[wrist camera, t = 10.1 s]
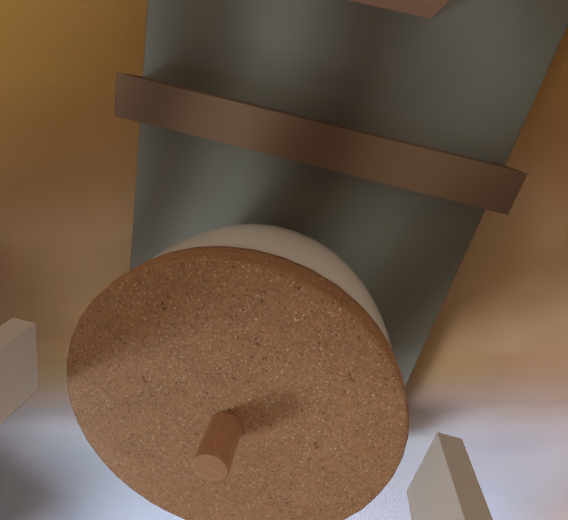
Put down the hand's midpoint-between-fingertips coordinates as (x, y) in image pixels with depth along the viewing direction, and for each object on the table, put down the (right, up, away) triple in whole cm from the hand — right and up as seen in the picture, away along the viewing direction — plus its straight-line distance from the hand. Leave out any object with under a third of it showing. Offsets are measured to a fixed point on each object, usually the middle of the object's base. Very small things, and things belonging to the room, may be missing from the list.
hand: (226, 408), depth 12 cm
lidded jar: (+1, +3, +7) cm, 7 cm away
